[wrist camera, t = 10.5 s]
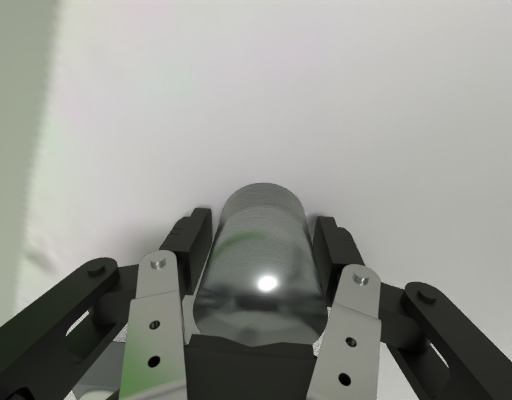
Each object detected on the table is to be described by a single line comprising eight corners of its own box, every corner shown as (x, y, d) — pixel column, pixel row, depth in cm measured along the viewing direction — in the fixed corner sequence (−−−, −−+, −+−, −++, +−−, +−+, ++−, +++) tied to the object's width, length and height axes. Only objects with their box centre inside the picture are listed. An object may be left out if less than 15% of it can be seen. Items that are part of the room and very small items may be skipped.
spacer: (302, 178, 13) (326, 261, 7) (307, 250, 15) (328, 356, 9) (214, 188, 13) (176, 273, 8) (230, 256, 15) (209, 361, 10)
